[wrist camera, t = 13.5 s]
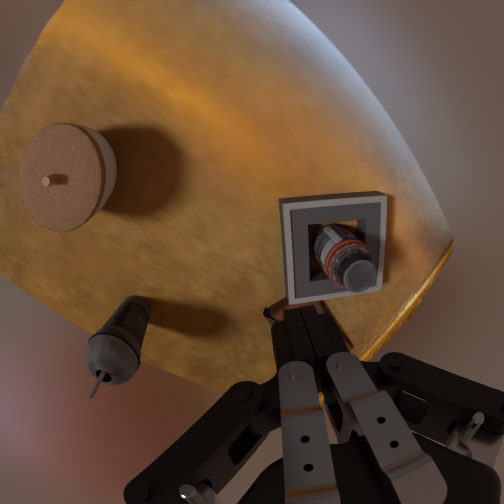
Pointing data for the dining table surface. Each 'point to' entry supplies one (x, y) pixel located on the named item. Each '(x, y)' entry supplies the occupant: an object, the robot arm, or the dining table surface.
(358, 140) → the dining table surface
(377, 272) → the holder block
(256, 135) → the dining table surface
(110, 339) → the beverage cup
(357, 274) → the supplement bottle
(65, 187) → the lidded bowl
